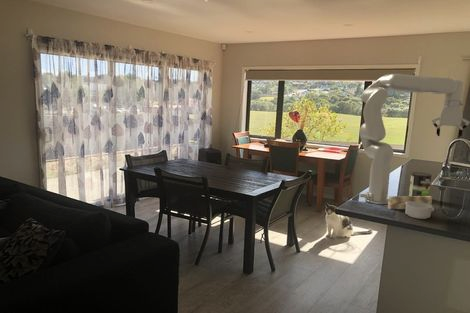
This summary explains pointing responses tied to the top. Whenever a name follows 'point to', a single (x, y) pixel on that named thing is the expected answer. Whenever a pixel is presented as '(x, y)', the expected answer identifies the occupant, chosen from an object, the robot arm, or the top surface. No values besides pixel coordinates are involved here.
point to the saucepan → (421, 210)
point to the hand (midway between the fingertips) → (448, 136)
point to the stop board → (400, 201)
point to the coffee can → (420, 184)
